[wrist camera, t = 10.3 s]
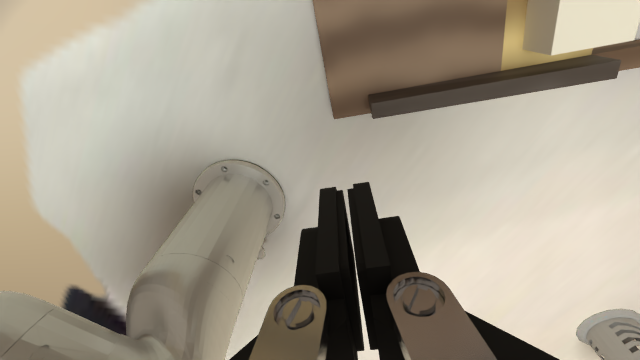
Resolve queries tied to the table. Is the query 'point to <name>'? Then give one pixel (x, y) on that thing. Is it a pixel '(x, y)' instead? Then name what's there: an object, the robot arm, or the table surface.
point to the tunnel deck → (444, 55)
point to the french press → (612, 334)
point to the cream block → (578, 24)
